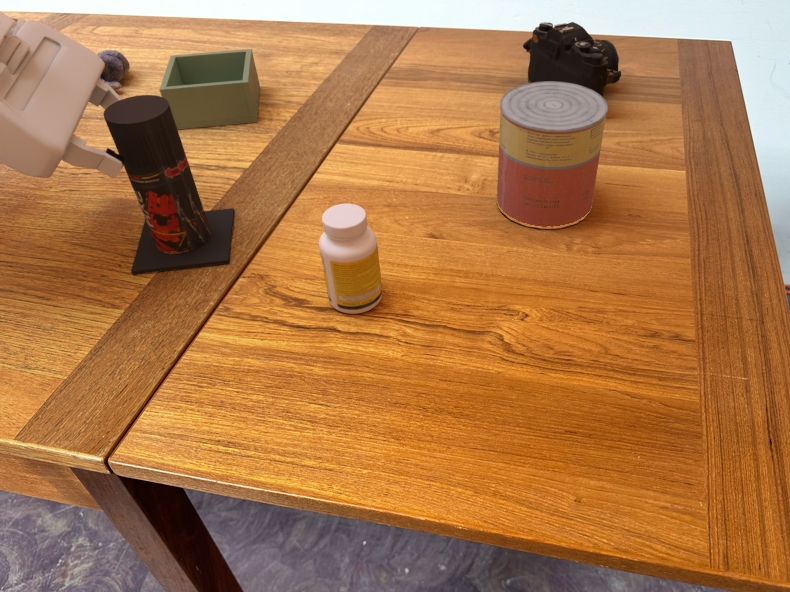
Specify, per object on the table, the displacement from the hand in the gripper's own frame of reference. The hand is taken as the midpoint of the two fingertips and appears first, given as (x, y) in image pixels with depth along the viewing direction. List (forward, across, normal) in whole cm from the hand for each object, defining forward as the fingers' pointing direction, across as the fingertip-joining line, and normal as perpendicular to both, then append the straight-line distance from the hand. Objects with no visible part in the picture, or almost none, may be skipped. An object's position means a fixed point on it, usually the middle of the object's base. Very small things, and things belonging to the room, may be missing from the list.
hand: (128, 144), depth 66 cm
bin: (+11, -32, -6) cm, 35 cm away
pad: (+10, +1, -7) cm, 12 cm away
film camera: (+48, -26, +31) cm, 62 cm away
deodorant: (+10, +1, -7) cm, 12 cm away
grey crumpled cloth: (-1, -44, -18) cm, 48 cm away
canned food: (+39, +1, +22) cm, 45 cm away
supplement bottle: (+23, +14, +6) cm, 27 cm away
